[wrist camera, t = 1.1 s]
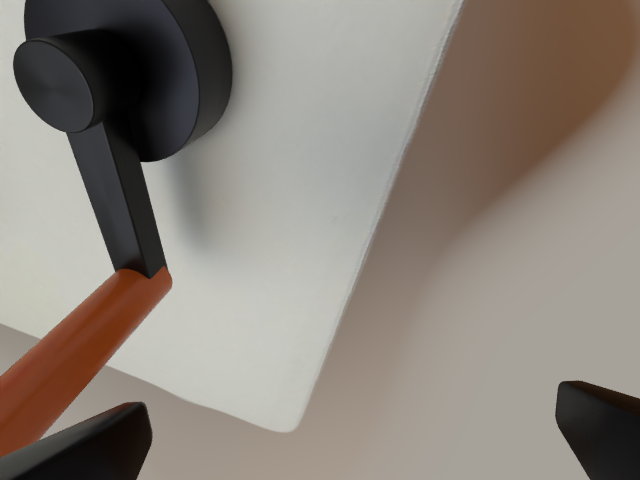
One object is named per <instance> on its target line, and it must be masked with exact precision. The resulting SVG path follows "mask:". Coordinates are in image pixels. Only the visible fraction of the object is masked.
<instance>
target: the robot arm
mask: <svg viewBox="0 0 640 480" xmlns="http://www.w3.org/2000/svg"><path fill="white" fill-rule="evenodd" d="M555 416H556V421H557V424H558V427H559V429H560V431H561V432H562V434H563V436H564V437H565V439H566V440H567V442H568V444H569V445H570V447H571V449H572V450H573V452H574V454H575V455H576V457H577V459H578V460H579V462H580V463H581V465H582V467H583V469H584V470H585V472H586V474H587V475H588V477H589V479H590V480H640V399H639V398H636V397H633V396H629V395H626V394H623V393H619V392H616V391H613V390H610V389H606V388H603V387H600V386H596V385H593V384H589V383H587V382H583V381H563V382H561V383H560V384H559V387H558V393H557V403H556V415H555ZM151 443H152V428H151V424H150V420H149V415H148V411H147V407H146V405H145V403H143V402H127V403H123V404H121V405H119V406H116V407H114V408H112V409H110V410H108V411H105V412H103V413H101V414H98V415H96V416H94V417H91V418H89V419H87V420H85V421H83V422H80V423H78V424H76V425H73V426H71V427H69V428H66V429H64V430H62V431H60V432H57V433H55V434H53V435H50V436H48V437H46V438H44V439H42V440H39V441H37V442H34V443H32V444H30V445H28V446H25V447H23V448H21V449H19V450H16V451H14V452H12V453H9V454H7V455H5V456H3V457H0V480H136V479H137V477H138V475H139V472H140V470H141V467H142V465H143V463H144V461H145V458H146V456H147V453H148V451H149V449H150V446H151Z"/></svg>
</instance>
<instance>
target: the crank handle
mask: <svg viewBox="0 0 640 480" xmlns="http://www.w3.org/2000/svg"><path fill="white" fill-rule="evenodd" d="M13 69H14V75H15V79H16V82H17V85H18V88H19V90H20V92H21V94H22V96H23V98H24V99H25V101H26V102H27V104H28V105H29V106H30V108H31V109H32V110H33V111H34V112H35V113H36V114H37V115H38V116H39V117H40V118H41V119H42V120H43V121H44V122H46V123H47V124H49V125H50V126H52V127H53V128H55V129H58V130H60V131H63V132H66V134H67V137H68V140H69V142H70V145H71V148H72V151H73V154H74V157H75V159H76V162H77V165H78V168H79V171H80V173H81V176H82V179H83V182H84V185H85V188H86V190H87V193H88V196H89V199H90V202H91V205H92V207H93V210H94V213H95V216H96V219H97V221H98V224H99V227H100V230H101V233H102V236H103V238H104V241H105V244H106V247H107V250H108V253H109V255H110V258H111V261H112V264H113V267H114V270H115V273H114V274H113V275H112V276H111V277H110V278H108V279H107V280H106V281H105V282H104V283H103V284H102V285H101V286H100V287H99V288H97V289H96V290H95V291H94V292H93V293H92V294H91V295H90V296H89V297H88V298H86V299H85V300H84V301H83V302H82V303H81V304H80V305H79V306H78V307H77V308H75V309H74V310H73V311H72V312H71V313H70V314H69V315H68V316H67V317H65V318H64V319H63V320H62V321H61V322H60V323H59V324H58V325H57V326H56V327H54V328H53V329H52V330H51V331H50V332H49V333H48V334H47V335H46V336H45V337H43V338H42V339H41V340H40V341H39V342H38V343H37V344H36V345H35V346H34V347H32V348H31V349H30V350H29V351H28V352H27V353H26V354H25V355H24V356H22V358H20V359H19V360H18V361H17V362H16V363H15V364H14V365H13V366H11V367H10V368H9V369H8V370H7V371H6V372H5V373H4V374H3V375H2V376H0V457H3V456H5V455H7V454H9V453H12V452H14V451H16V450H19V449H21V448H23V447H25V446H28V445H30V444H32V443H34V442H37V441H38V440H39V439H40V438H41V437H42V436H43V435H44V434H45V432H46V431H47V430H48V429H49V427H51V426H52V424H53V423H54V422H55V421H56V420H57V419H58V418H59V416H60V415H61V414H62V413H63V412H64V411H65V409H66V408H67V407H68V406H69V405H70V404H71V402H73V400H74V399H75V398H76V397H77V396H78V395H79V393H80V392H81V391H82V390H83V389H84V388H85V387H86V386H87V384H88V383H89V382H90V381H91V380H92V379H93V377H94V376H95V375H96V374H97V373H98V372H99V370H100V369H101V368H102V367H103V366H104V365H105V364H106V363H107V361H108V360H109V359H110V358H111V357H112V356H113V355H114V353H115V352H116V351H117V350H118V349H119V348H120V347H121V345H122V344H123V343H124V342H125V341H126V340H127V339H128V337H129V336H130V335H131V334H132V333H133V332H134V331H135V329H136V328H137V327H138V326H139V325H140V324H141V323H142V321H143V320H144V319H145V318H146V317H147V316H148V315H149V313H150V312H151V311H152V310H153V309H154V308H155V307H156V305H157V304H158V303H159V302H160V301H161V300H162V299H163V297H164V296H165V295H166V294H167V293H168V292H169V291H170V289H171V287H172V278H171V275H170V273H169V271H168V268H167V264H166V260H165V256H164V252H163V248H162V244H161V240H160V237H159V233H158V229H157V225H156V221H155V217H154V213H153V209H152V205H151V202H150V198H149V194H148V190H147V186H146V182H145V178H144V174H143V170H142V167H141V163H140V159H139V155H138V151H137V147H136V143H135V139H134V135H133V131H132V128H131V124H130V120H129V116H128V112H127V111H129V110H131V109H132V108H133V107H134V106H135V105H136V103H137V101H138V99H139V96H140V89H141V85H140V77H139V73H138V70H137V67H136V65H135V63H134V61H133V59H132V57H131V56H130V54H129V53H128V51H127V50H126V49H125V48H124V47H123V45H122V44H121V43H120V42H118V41H117V40H116V39H115V38H113V37H112V36H110V35H109V34H107V33H105V32H102V31H99V30H94V29H87V30H81V31H76V32H70V33H64V34H59V35H53V36H47V37H42V38H36V39H31V40H27V41H25V42H23V43H22V44H21V45H20V46H19V47H18V48H17V50H16V52H15V55H14V60H13Z"/></svg>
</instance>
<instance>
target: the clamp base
mask: <svg viewBox="0 0 640 480" xmlns="http://www.w3.org/2000/svg"><path fill="white" fill-rule="evenodd" d="M24 28H25V36H26V41H27V40H31V39H36V38H42V37H47V36H53V35H59V34H64V33H70V32H76V31H81V30H87V29H94V30H99V31H102V32H105V33H107V34H109V35H110V36H112V37H113V38H115V39H116V40H117V41H118V42H120V43H121V44H122V45H123V47H124V48H125V49H126V50H127V51H128V53H129V54H130V56H131V57H132V59H133V61H134V63H135V65H136V67H137V70H138V73H139V77H140V85H141V89H140V96H139V99H138V101H137V103H136V105H135V106H134V107H133V108H132V109H131V110H129V111H127V112H128V116H129V120H130V124H131V128H132V131H133V135H134V139H135V143H136V147H137V151H138V155H139V159H140V162H154V161H159V160H162V159H166V158H168V157H170V156H172V155H174V154H175V153H177V152H178V151H180V150H181V149H182V148H184V147H185V146H187V145H188V144H190V143H191V142H193V141H194V140H196V139H197V138H199V137H200V136H202V135H203V134H205V133H206V132H207V131H209V130H210V129H211V128H212V127H213V126H214V125H215V124H216V123H217V122H218V121H219V119H220V118H221V116H222V115H223V113H224V111H225V108H226V106H227V103H228V100H229V97H230V91H231V85H232V67H231V58H230V53H229V48H228V44H227V41H226V38H225V34H224V32H223V30H222V27H221V25H220V22H219V20H218V19H217V17H216V15H215V13H214V11H213V9H212V8H211V6H210V5H209V3H208V2H207V0H26V2H25V10H24Z"/></svg>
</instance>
